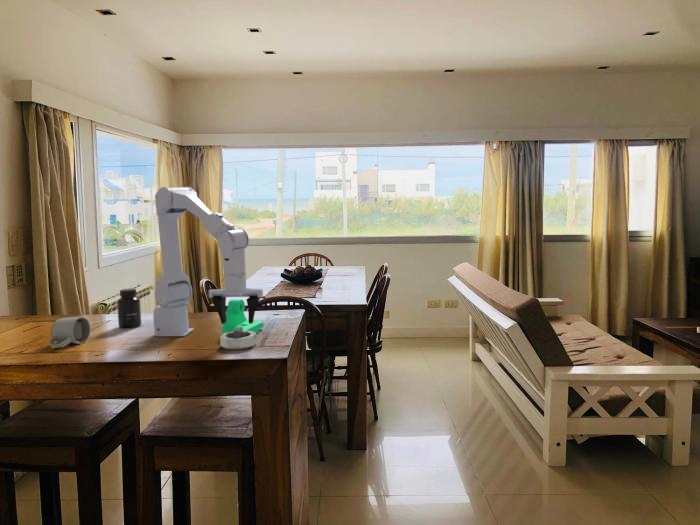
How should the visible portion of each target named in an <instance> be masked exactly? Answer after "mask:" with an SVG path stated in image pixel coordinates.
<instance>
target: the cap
mask: <svg viewBox="0 0 700 525" xmlns="http://www.w3.org/2000/svg"><path fill="white" fill-rule="evenodd" d="M233 337H234V338H242V337H243V327H237V328H236V329H235V330H233Z"/></svg>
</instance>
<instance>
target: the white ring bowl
mask: <svg viewBox="0 0 700 525" xmlns="http://www.w3.org/2000/svg"><path fill="white" fill-rule="evenodd" d="M219 339H220V340H219V341H220V342H219V343H220V346H221V347H222V349H224V350H227V351H242V350H247V349H252V348H253V347H255V346H256V343H257V333H255V332H252V331H243V337H242V338H234V337H233V331H232V332H227V333H224V334H223V335H222V334H221V335H220V336H219Z"/></svg>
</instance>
